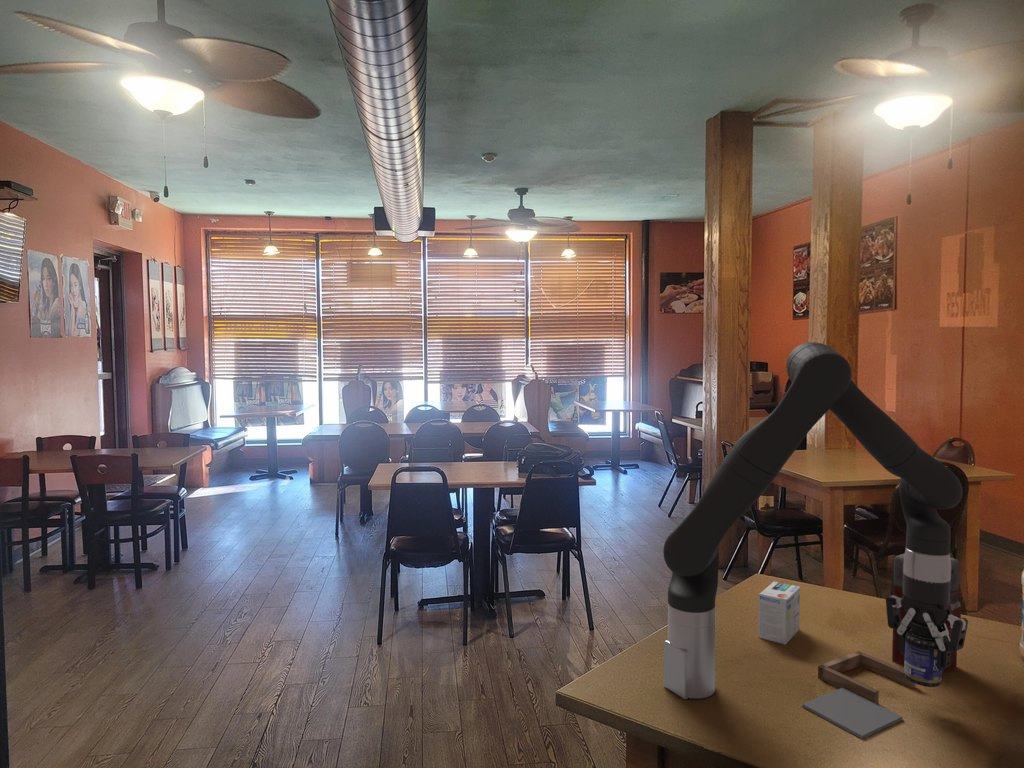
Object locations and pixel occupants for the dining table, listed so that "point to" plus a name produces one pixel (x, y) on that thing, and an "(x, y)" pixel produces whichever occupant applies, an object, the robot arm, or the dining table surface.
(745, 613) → the dining table surface
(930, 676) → the pill bottle
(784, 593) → the light bulb box
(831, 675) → the frame
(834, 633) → the dining table surface
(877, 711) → the rubber mat
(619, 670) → the dining table surface
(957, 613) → the red rectangular canister
